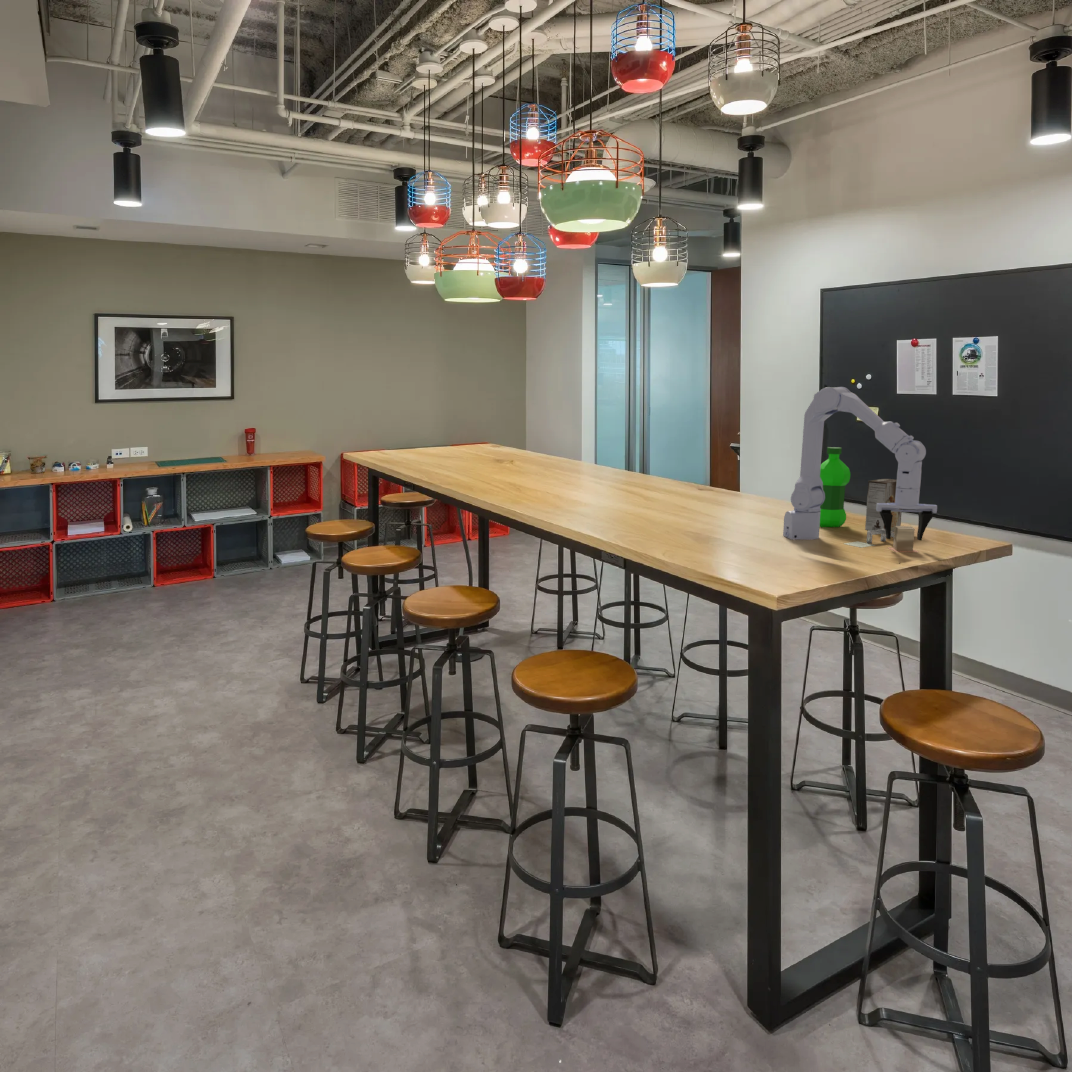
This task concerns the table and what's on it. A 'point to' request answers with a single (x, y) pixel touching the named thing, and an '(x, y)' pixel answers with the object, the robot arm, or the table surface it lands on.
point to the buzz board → (861, 544)
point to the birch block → (903, 538)
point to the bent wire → (880, 531)
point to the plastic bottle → (833, 489)
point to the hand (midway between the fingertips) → (903, 538)
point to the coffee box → (881, 494)
